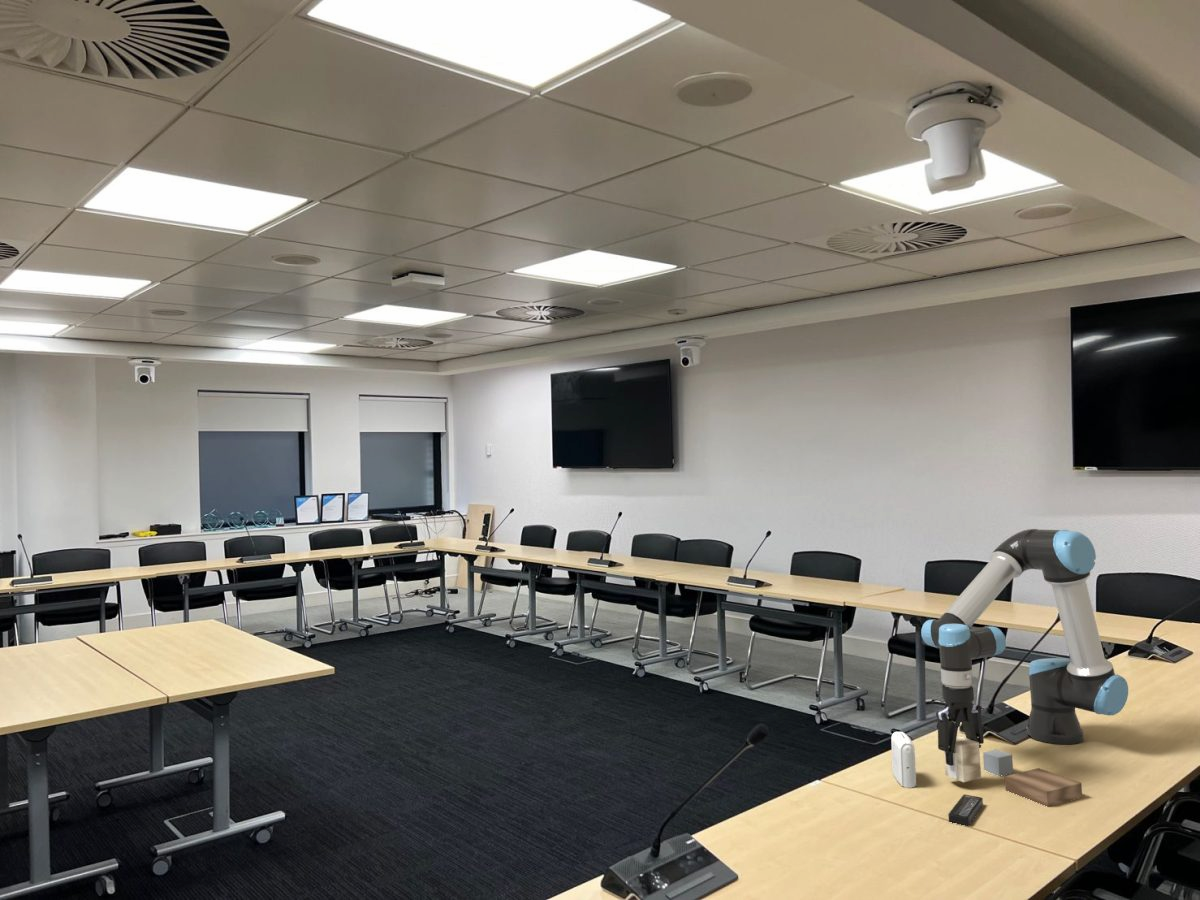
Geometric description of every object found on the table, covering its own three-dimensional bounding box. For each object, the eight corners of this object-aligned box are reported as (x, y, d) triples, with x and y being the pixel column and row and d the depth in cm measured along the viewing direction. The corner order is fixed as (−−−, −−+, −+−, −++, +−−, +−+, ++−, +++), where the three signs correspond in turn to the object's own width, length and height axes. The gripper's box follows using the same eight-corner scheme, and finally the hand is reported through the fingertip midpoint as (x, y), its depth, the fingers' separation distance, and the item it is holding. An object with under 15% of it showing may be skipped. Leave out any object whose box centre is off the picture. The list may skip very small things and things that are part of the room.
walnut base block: (1039, 783, 213) (1038, 768, 213) (1082, 799, 202) (1081, 782, 202) (1005, 792, 208) (1004, 776, 209) (1047, 808, 197) (1046, 791, 198)
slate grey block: (997, 768, 224) (996, 749, 225) (1013, 773, 220) (1012, 754, 220) (984, 771, 223) (983, 752, 223) (999, 777, 218) (998, 757, 218)
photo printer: (918, 788, 212) (916, 739, 213) (901, 788, 213) (899, 739, 213) (907, 774, 222) (904, 727, 223) (891, 774, 223) (888, 727, 223)
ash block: (962, 770, 218) (960, 736, 218) (981, 777, 212) (978, 742, 212) (945, 774, 215) (943, 740, 216) (963, 782, 210) (961, 746, 210)
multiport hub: (948, 824, 191) (947, 814, 191) (964, 803, 202) (963, 793, 203) (968, 828, 188) (968, 818, 188) (983, 807, 200) (982, 797, 200)
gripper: (940, 693, 207) (946, 786, 207) (996, 682, 215) (1001, 772, 214) (918, 687, 214) (924, 777, 213) (972, 676, 222) (978, 763, 221)
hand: (963, 774), depth 214 cm, fingers closed on ash block, 6 cm apart
